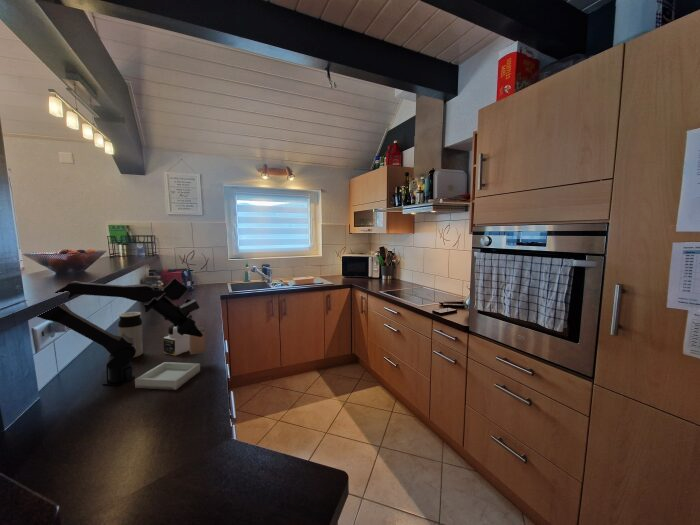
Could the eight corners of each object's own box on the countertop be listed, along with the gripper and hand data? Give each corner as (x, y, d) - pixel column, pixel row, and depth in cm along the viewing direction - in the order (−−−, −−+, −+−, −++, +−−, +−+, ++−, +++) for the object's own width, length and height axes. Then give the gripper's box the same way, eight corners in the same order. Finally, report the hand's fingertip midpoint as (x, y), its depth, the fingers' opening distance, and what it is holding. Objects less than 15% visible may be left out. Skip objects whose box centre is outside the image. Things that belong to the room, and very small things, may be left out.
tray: (135, 387, 96) (135, 379, 96) (164, 369, 110) (164, 362, 110) (176, 389, 95) (176, 380, 95) (200, 371, 109) (199, 363, 109)
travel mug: (133, 359, 119) (132, 316, 118) (114, 358, 119) (112, 315, 118) (147, 352, 127) (146, 311, 126) (129, 351, 127) (128, 311, 126)
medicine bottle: (163, 353, 126) (162, 326, 125) (178, 348, 133) (178, 322, 132) (174, 355, 123) (174, 328, 123) (189, 350, 130) (189, 324, 129)
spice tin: (190, 354, 110) (190, 331, 110) (189, 350, 115) (189, 328, 114) (205, 352, 113) (205, 329, 113) (203, 348, 117) (203, 326, 117)
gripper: (188, 297, 103) (221, 323, 110) (182, 290, 118) (212, 313, 125) (162, 322, 99) (198, 347, 106) (159, 311, 114) (191, 334, 121)
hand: (201, 334), depth 114 cm, fingers closed on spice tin, 5 cm apart
